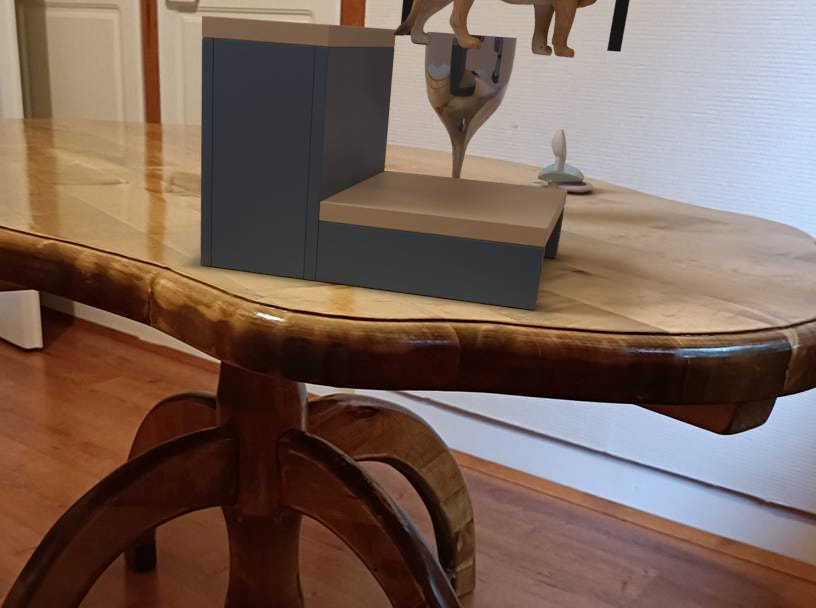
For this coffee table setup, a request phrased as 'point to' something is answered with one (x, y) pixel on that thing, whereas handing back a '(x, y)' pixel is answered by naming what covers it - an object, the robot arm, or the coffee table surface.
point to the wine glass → (466, 85)
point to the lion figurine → (544, 3)
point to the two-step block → (347, 175)
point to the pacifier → (563, 169)
